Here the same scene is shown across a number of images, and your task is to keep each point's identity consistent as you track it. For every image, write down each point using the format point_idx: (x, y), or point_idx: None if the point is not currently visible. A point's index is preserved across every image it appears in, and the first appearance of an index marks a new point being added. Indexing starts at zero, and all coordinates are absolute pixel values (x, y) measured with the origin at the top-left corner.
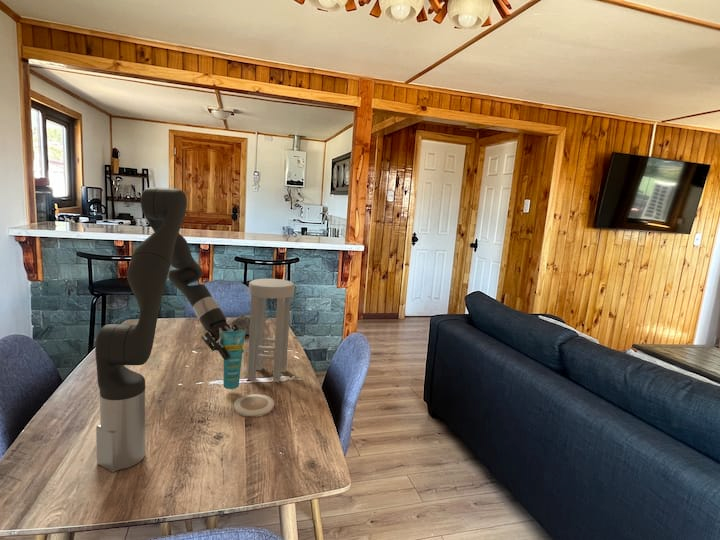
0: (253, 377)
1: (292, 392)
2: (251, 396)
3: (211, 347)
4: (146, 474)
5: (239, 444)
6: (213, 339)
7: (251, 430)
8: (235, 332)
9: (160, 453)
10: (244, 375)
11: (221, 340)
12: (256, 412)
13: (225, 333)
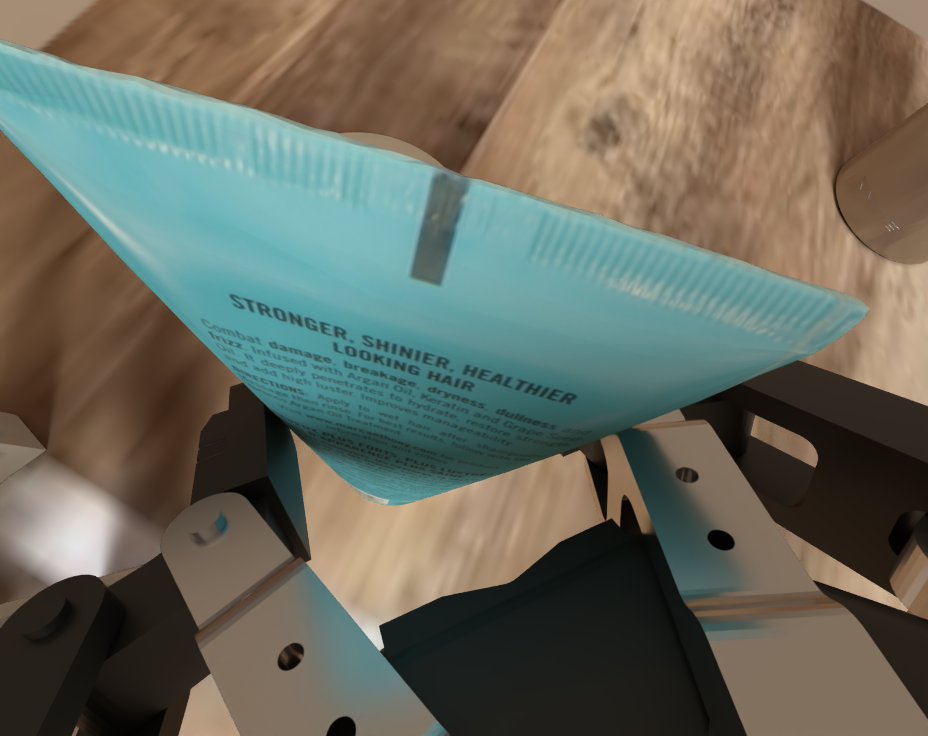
0: (135, 567)
1: (57, 243)
2: None
3: (758, 445)
4: (830, 104)
5: (557, 52)
6: (863, 425)
7: (480, 90)
8: (372, 213)
9: (791, 166)
10: None
11: (657, 424)
12: (407, 144)
13: (691, 325)
